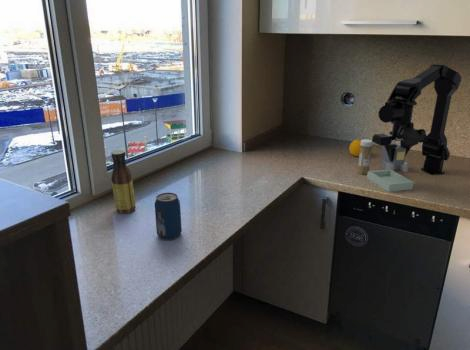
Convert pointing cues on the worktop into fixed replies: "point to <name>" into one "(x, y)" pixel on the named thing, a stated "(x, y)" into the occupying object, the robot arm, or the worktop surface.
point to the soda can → (168, 216)
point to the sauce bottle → (122, 183)
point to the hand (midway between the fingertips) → (396, 161)
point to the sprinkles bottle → (365, 156)
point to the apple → (355, 147)
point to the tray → (390, 180)
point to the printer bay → (389, 166)
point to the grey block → (395, 155)
